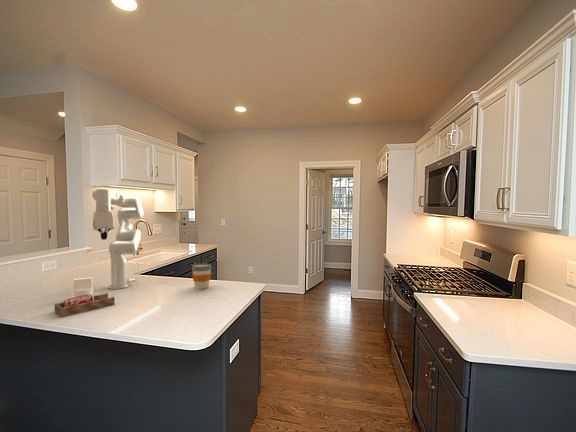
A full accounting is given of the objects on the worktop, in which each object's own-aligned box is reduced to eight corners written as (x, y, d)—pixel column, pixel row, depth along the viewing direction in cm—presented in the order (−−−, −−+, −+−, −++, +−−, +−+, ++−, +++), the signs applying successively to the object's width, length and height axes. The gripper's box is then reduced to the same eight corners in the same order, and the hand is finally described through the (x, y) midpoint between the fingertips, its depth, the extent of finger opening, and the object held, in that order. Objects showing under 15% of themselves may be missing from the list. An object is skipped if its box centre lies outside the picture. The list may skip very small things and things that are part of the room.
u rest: (107, 299, 163) (107, 293, 163) (114, 304, 156) (114, 297, 156) (54, 311, 145) (54, 303, 145) (60, 317, 137) (60, 309, 137)
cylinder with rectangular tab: (72, 301, 160) (72, 281, 160) (76, 297, 168) (75, 277, 168) (91, 299, 164) (91, 279, 164) (94, 295, 172) (93, 276, 172)
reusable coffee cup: (188, 288, 187) (187, 266, 186) (200, 283, 198) (200, 262, 198) (203, 290, 182) (203, 267, 182) (215, 285, 194) (214, 264, 193)
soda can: (96, 301, 150) (68, 308, 140) (92, 308, 153) (65, 315, 144) (92, 290, 153) (65, 296, 143) (89, 297, 156) (62, 304, 146)
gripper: (115, 209, 175) (115, 238, 176) (86, 209, 164) (87, 240, 164) (119, 209, 171) (120, 238, 171) (90, 209, 159) (91, 241, 160)
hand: (104, 239), depth 168 cm, fingers closed
